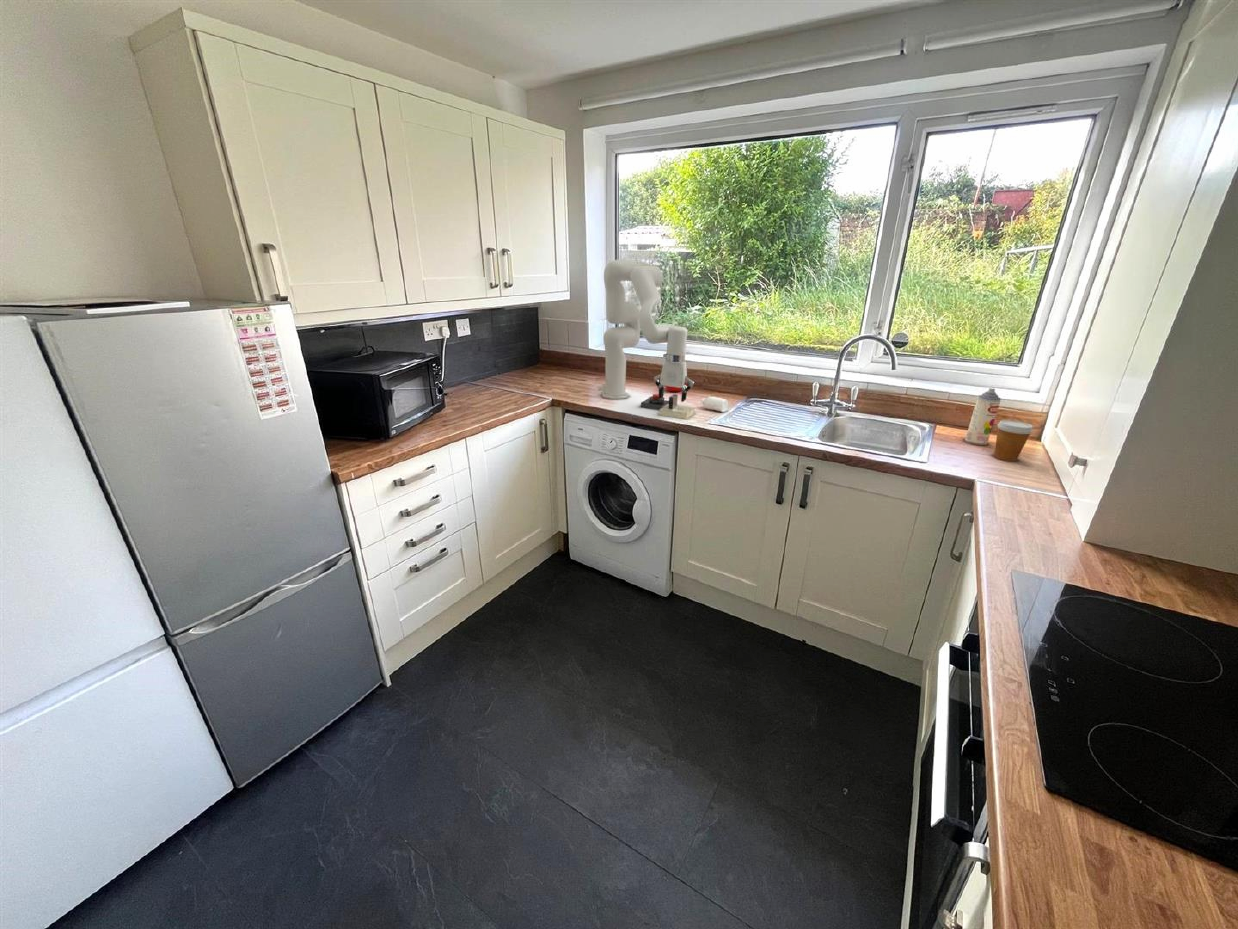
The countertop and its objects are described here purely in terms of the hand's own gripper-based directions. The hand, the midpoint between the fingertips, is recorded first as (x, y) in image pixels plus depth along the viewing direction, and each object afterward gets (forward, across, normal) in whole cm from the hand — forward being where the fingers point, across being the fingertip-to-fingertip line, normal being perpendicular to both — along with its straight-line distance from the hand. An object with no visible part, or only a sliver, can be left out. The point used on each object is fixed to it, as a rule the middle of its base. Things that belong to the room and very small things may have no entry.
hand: (672, 399), depth 208 cm
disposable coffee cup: (+3, +118, +4) cm, 118 cm away
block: (+6, -9, +7) cm, 13 cm away
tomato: (+7, -12, +40) cm, 42 cm away
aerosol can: (+4, +112, +19) cm, 113 cm away
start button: (+3, -9, +7) cm, 12 cm away
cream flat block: (+6, +3, 0) cm, 7 cm away
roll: (+6, +14, +15) cm, 21 cm away
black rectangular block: (+3, +1, 0) cm, 4 cm away
